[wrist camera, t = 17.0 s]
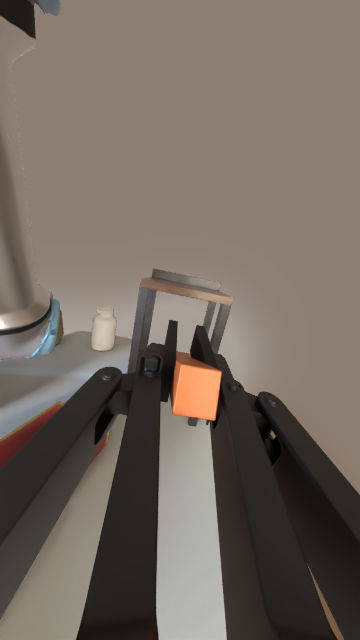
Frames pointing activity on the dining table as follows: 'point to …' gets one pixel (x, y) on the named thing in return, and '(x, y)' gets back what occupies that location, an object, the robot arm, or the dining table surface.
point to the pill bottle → (103, 329)
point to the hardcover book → (30, 435)
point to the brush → (194, 388)
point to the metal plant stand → (184, 288)
